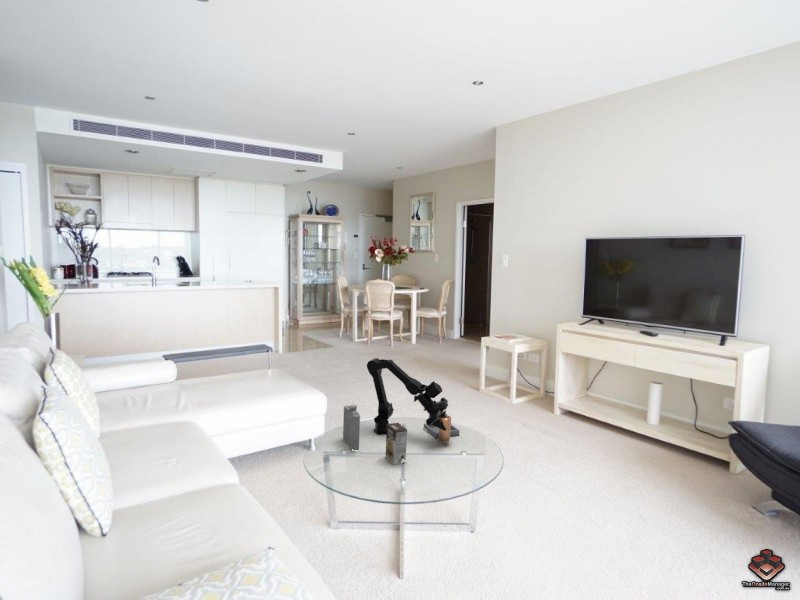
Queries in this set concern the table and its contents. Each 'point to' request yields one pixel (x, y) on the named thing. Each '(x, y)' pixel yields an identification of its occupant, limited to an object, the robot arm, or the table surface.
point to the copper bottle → (445, 435)
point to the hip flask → (351, 426)
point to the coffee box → (396, 443)
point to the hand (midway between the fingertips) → (447, 428)
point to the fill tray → (435, 430)
